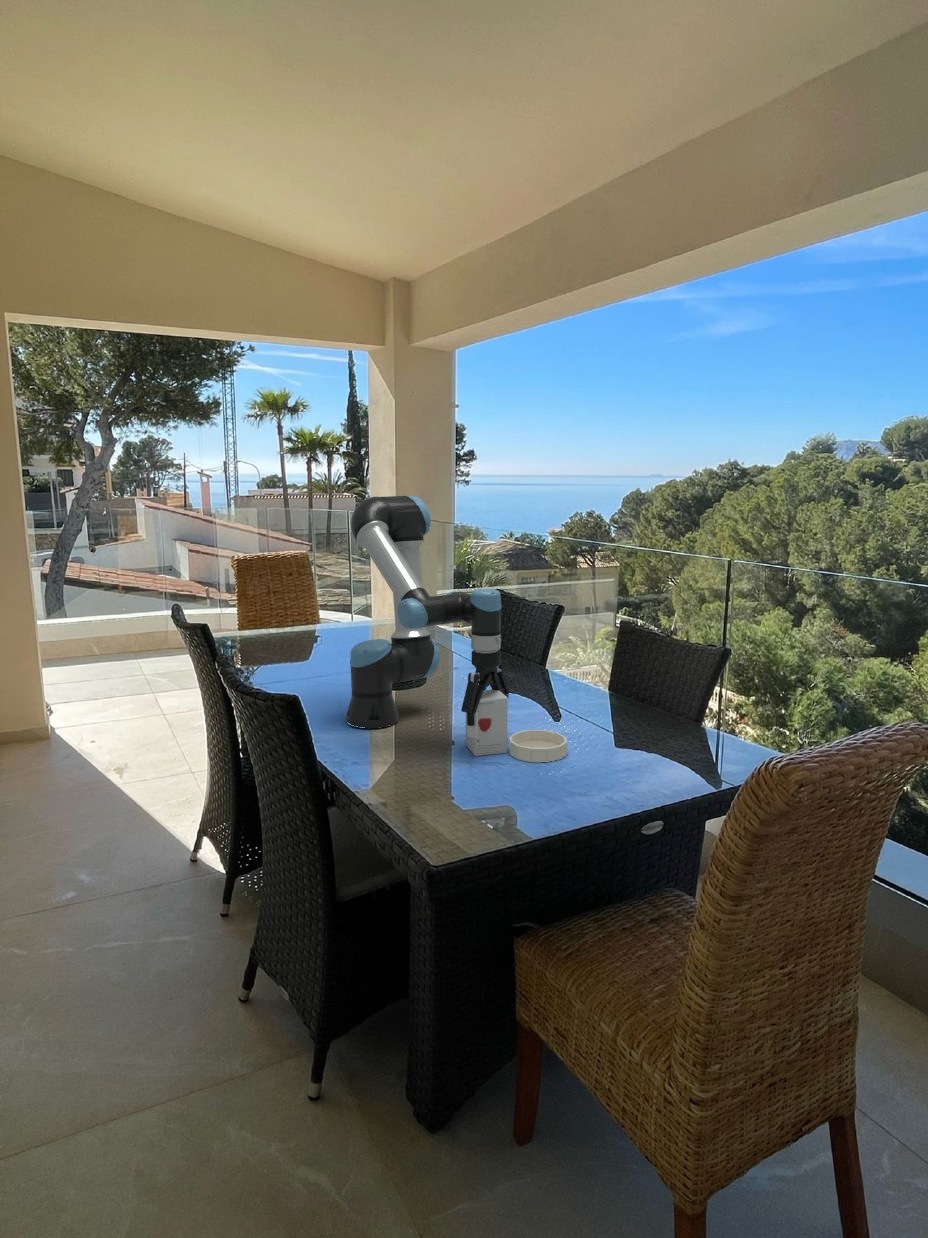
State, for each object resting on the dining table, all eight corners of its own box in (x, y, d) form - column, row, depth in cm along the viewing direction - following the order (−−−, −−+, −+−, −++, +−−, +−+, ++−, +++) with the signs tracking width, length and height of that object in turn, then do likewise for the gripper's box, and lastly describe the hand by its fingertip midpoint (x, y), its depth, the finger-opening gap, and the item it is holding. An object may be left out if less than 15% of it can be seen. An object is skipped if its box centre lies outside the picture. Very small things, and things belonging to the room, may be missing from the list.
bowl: (499, 755, 197) (499, 742, 196) (526, 739, 209) (526, 726, 208) (550, 766, 189) (551, 753, 188) (575, 748, 201) (575, 736, 200)
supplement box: (474, 757, 196) (474, 700, 193) (465, 745, 204) (464, 690, 201) (508, 753, 198) (508, 697, 195) (497, 742, 207) (497, 688, 204)
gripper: (472, 661, 184) (473, 746, 188) (522, 642, 205) (521, 719, 209) (446, 658, 188) (447, 741, 192) (497, 639, 209) (497, 714, 212)
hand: (486, 729), depth 200 cm, fingers open, 13 cm apart
